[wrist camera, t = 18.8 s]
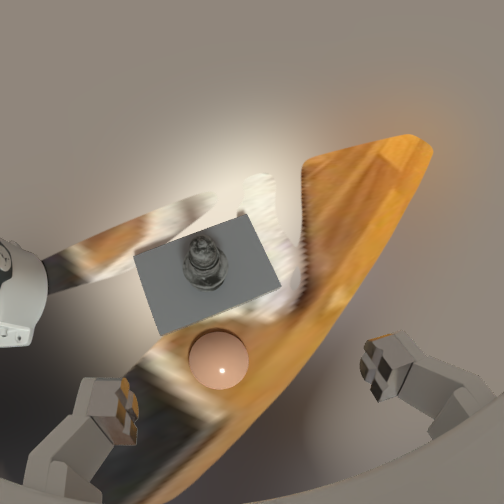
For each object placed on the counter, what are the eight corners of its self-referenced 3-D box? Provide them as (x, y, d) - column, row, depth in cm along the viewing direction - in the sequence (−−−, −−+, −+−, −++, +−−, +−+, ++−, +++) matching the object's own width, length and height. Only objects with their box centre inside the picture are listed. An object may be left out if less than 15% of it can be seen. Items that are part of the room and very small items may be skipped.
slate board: (162, 336, 38) (160, 335, 37) (135, 259, 42) (133, 256, 40) (279, 288, 42) (281, 286, 41) (246, 218, 46) (246, 213, 44)
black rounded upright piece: (200, 246, 42) (194, 205, 31) (235, 267, 41) (241, 232, 30) (177, 279, 40) (161, 249, 29) (213, 302, 39) (210, 280, 28)
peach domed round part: (204, 396, 36) (203, 397, 36) (180, 344, 39) (180, 344, 38) (257, 375, 38) (258, 375, 37) (233, 323, 40) (234, 322, 40)
